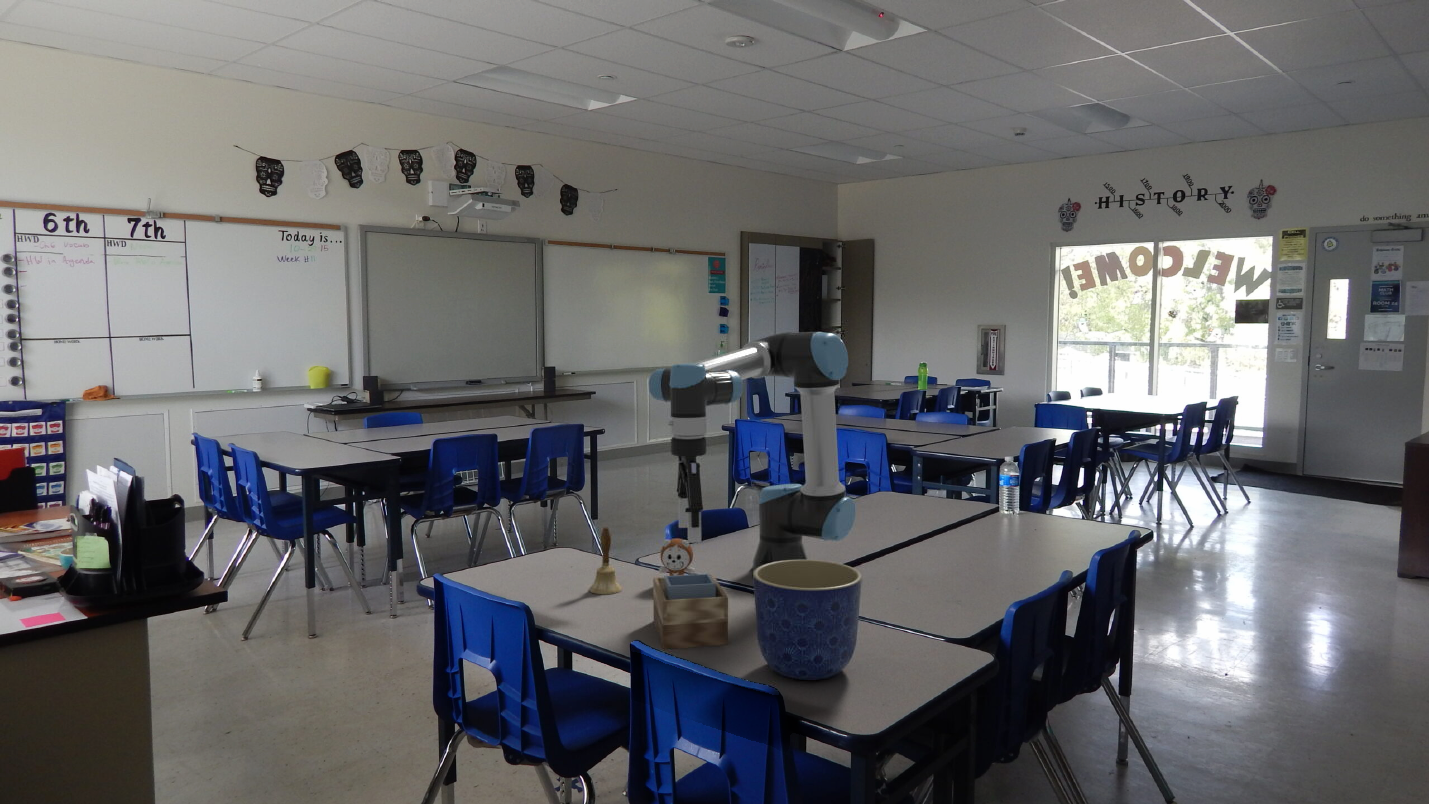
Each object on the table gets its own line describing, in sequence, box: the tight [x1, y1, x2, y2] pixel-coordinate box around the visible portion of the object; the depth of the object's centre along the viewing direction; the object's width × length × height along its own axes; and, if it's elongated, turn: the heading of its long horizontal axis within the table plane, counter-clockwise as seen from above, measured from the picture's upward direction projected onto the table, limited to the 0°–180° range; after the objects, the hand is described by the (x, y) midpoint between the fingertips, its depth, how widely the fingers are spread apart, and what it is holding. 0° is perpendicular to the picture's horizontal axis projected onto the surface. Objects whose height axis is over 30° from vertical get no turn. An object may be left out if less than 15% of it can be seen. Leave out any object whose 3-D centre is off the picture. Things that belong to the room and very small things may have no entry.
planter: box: [752, 559, 863, 681], centre depth 171 cm, size 21×21×19 cm
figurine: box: [658, 537, 696, 576], centre depth 227 cm, size 9×9×12 cm
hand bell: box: [588, 526, 623, 595], centre depth 223 cm, size 8×8×16 cm
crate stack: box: [652, 574, 729, 650], centre depth 192 cm, size 14×18×10 cm
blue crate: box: [663, 573, 716, 600], centre depth 192 cm, size 10×8×6 cm
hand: (689, 534), depth 191 cm, fingers open, 13 cm apart
